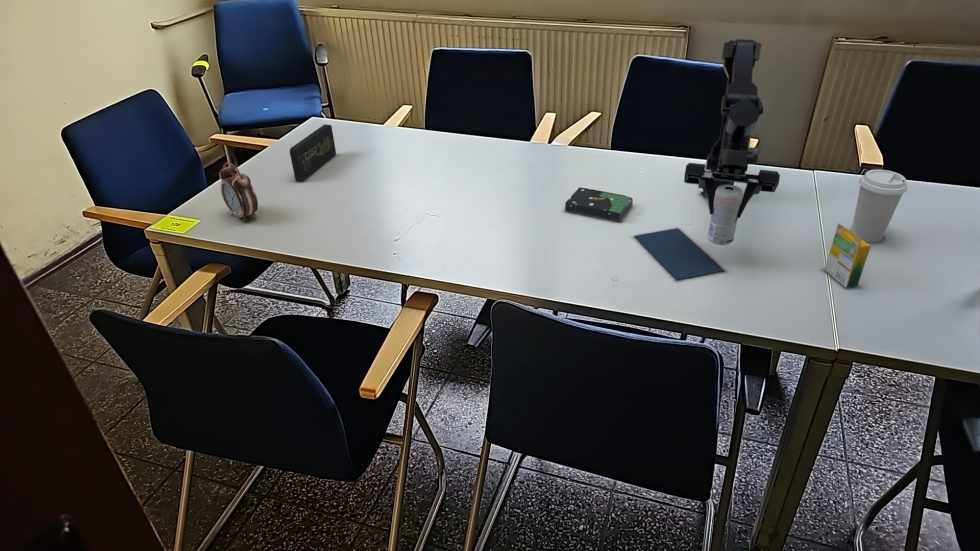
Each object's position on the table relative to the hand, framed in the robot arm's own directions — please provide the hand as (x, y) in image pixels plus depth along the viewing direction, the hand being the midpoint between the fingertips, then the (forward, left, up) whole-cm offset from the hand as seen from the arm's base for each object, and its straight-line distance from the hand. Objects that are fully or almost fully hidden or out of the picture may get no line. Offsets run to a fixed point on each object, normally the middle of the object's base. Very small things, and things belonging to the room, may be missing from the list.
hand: (724, 215), depth 138 cm
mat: (+5, -7, -12) cm, 15 cm away
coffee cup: (-40, 0, -12) cm, 42 cm away
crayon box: (-22, +13, -12) cm, 28 cm away
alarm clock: (+101, -59, -12) cm, 118 cm away
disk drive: (+13, -33, -12) cm, 38 cm away
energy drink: (-1, -1, -7) cm, 7 cm away
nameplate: (+81, -85, -12) cm, 118 cm away
